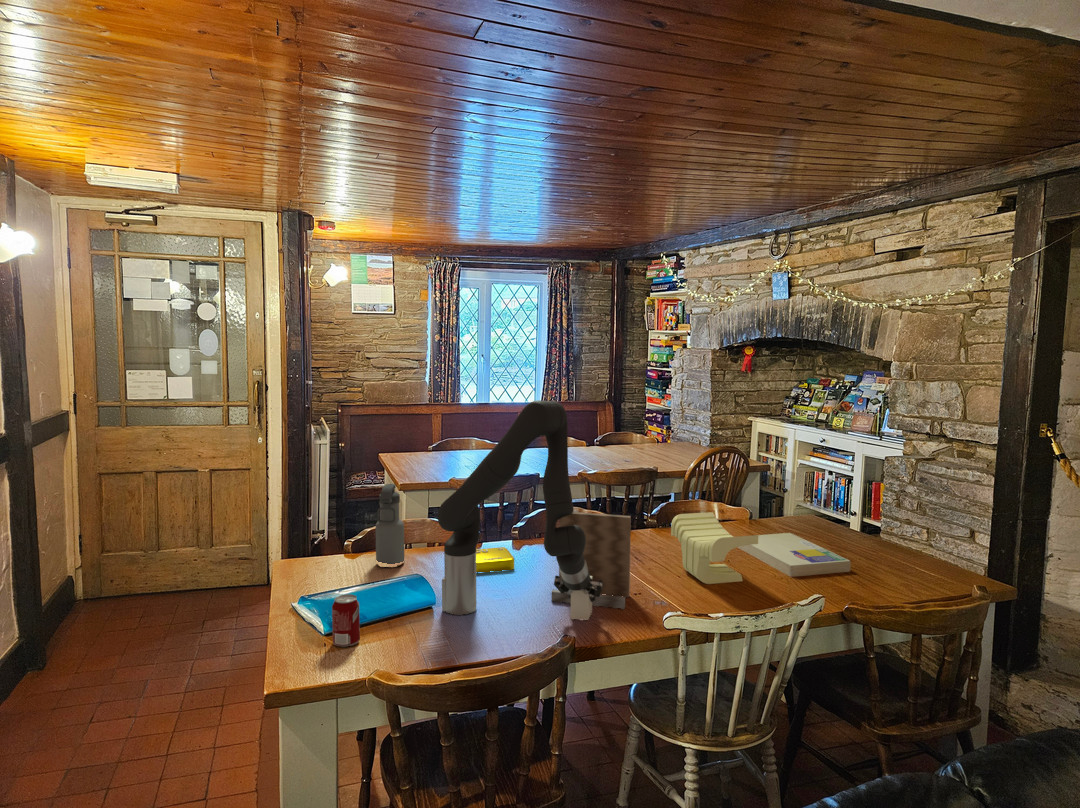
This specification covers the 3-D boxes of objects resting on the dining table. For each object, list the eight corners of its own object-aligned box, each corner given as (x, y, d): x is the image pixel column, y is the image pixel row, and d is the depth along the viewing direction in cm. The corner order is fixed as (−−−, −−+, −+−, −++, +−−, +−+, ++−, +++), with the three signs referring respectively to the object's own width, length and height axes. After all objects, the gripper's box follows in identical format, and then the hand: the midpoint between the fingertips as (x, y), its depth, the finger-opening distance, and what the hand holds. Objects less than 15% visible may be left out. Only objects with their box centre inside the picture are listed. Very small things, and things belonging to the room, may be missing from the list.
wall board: (551, 601, 206) (552, 520, 203) (560, 588, 217) (561, 511, 214) (624, 609, 200) (625, 525, 198) (629, 595, 211) (630, 516, 209)
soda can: (349, 650, 172) (348, 604, 171) (327, 646, 175) (326, 600, 173) (365, 639, 178) (364, 595, 177) (344, 635, 181) (343, 591, 180)
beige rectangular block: (570, 619, 192) (570, 581, 191) (575, 611, 198) (575, 574, 197) (587, 621, 191) (588, 583, 190) (592, 612, 197) (592, 576, 196)
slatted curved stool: (670, 563, 241) (671, 514, 240) (711, 560, 245) (712, 512, 243) (710, 594, 212) (712, 538, 211) (756, 590, 216) (758, 535, 214)
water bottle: (400, 569, 234) (399, 489, 231) (372, 569, 234) (371, 488, 232) (407, 559, 244) (406, 483, 242) (380, 559, 244) (378, 482, 242)
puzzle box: (789, 543, 269) (734, 547, 263) (790, 532, 268) (735, 535, 263) (851, 574, 234) (789, 578, 228) (852, 561, 233) (789, 565, 228)
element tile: (472, 575, 230) (472, 561, 229) (465, 561, 244) (464, 548, 244) (515, 571, 234) (515, 557, 233) (505, 558, 248) (505, 545, 248)
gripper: (602, 560, 184) (609, 588, 197) (551, 555, 188) (560, 583, 200) (598, 586, 179) (605, 613, 192) (546, 580, 183) (556, 607, 196)
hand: (582, 597), depth 196 cm, fingers closed on beige rectangular block, 5 cm apart
